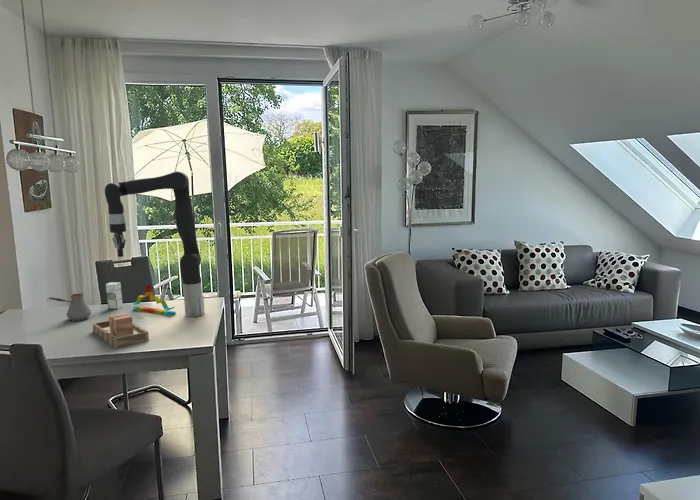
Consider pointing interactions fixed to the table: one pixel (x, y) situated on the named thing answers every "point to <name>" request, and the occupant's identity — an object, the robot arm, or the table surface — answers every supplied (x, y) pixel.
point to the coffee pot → (76, 307)
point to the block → (121, 324)
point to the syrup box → (114, 295)
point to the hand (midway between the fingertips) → (120, 256)
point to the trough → (104, 332)
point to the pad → (128, 335)
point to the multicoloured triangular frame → (152, 298)
